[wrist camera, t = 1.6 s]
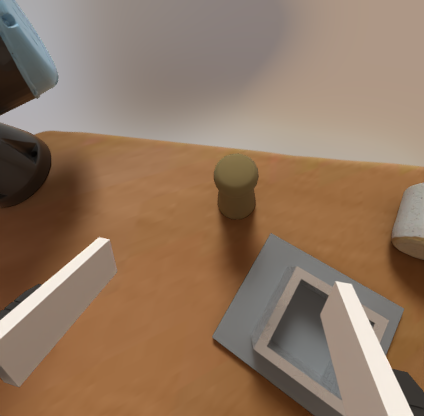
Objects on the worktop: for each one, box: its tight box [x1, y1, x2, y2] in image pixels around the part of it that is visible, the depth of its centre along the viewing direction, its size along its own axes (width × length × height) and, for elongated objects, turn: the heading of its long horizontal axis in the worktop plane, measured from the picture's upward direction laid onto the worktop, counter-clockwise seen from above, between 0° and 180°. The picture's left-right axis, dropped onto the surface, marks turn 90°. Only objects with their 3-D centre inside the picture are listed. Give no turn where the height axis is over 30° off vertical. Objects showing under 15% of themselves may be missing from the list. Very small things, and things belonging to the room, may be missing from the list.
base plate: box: [212, 233, 404, 416], centre depth 27 cm, size 18×16×1 cm
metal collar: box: [251, 266, 389, 416], centre depth 24 cm, size 10×10×5 cm
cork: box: [214, 154, 259, 219], centre depth 28 cm, size 6×6×11 cm
